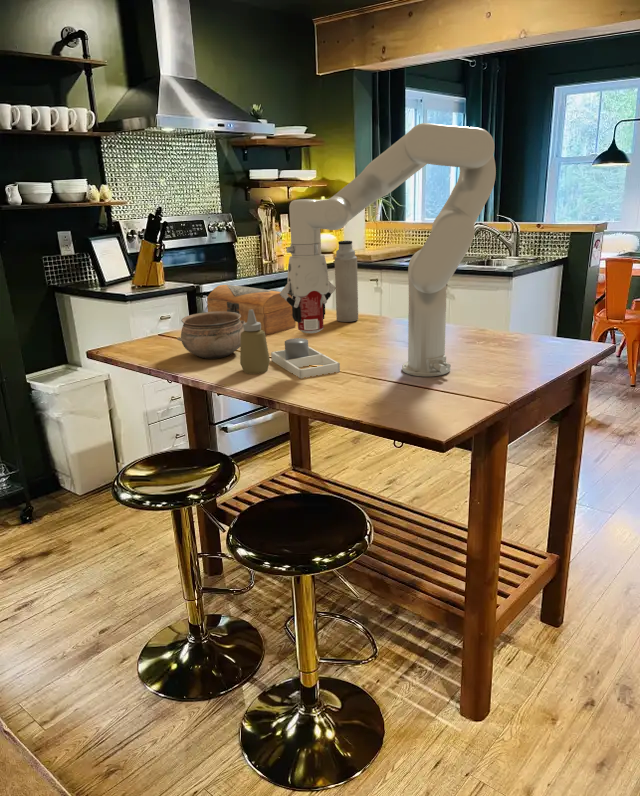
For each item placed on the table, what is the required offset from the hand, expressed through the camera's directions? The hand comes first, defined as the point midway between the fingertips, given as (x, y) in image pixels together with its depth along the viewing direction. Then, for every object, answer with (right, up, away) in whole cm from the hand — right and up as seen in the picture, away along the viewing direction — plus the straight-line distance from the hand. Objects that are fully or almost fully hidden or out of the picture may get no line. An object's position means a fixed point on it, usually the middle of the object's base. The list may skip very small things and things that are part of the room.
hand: (309, 319), depth 167 cm
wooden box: (-22, +4, +61) cm, 65 cm away
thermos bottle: (+13, +8, +65) cm, 66 cm away
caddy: (-1, -13, +9) cm, 16 cm away
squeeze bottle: (-15, -15, +7) cm, 22 cm away
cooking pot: (-29, -9, +25) cm, 39 cm away
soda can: (0, -3, +1) cm, 3 cm away
